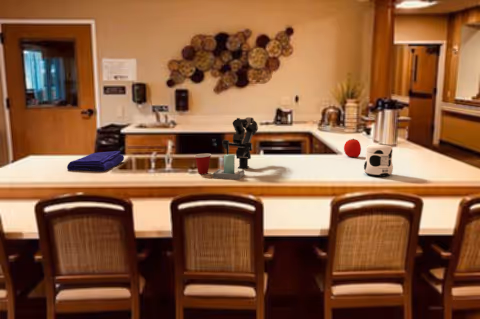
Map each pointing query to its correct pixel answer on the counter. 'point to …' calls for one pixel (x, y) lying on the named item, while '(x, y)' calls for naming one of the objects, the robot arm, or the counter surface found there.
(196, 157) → the plastic cup
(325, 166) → the counter surface
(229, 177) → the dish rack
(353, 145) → the tomato
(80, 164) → the towel
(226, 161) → the pale green upright block
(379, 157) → the milk container
